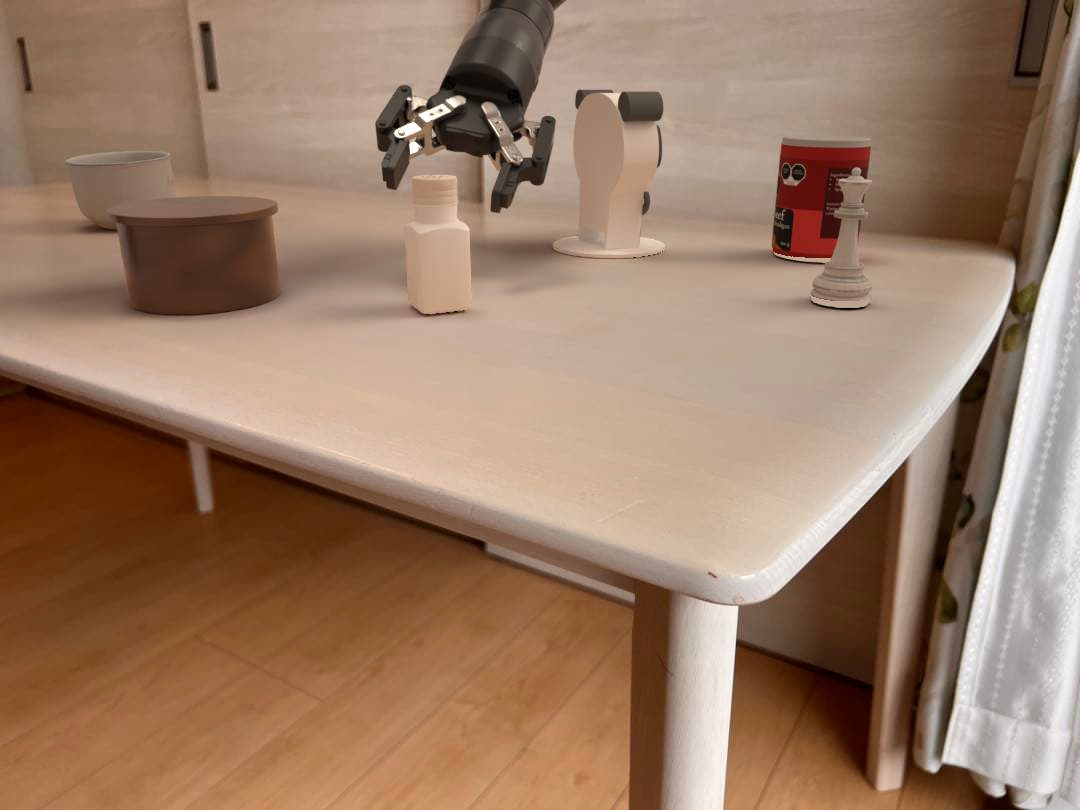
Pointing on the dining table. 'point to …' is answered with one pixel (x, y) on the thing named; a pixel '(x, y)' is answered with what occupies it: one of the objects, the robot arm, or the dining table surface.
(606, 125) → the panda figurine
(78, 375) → the dining table surface
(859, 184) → the chess piece
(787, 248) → the canned food
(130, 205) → the walnut stand
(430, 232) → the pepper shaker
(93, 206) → the teacup
